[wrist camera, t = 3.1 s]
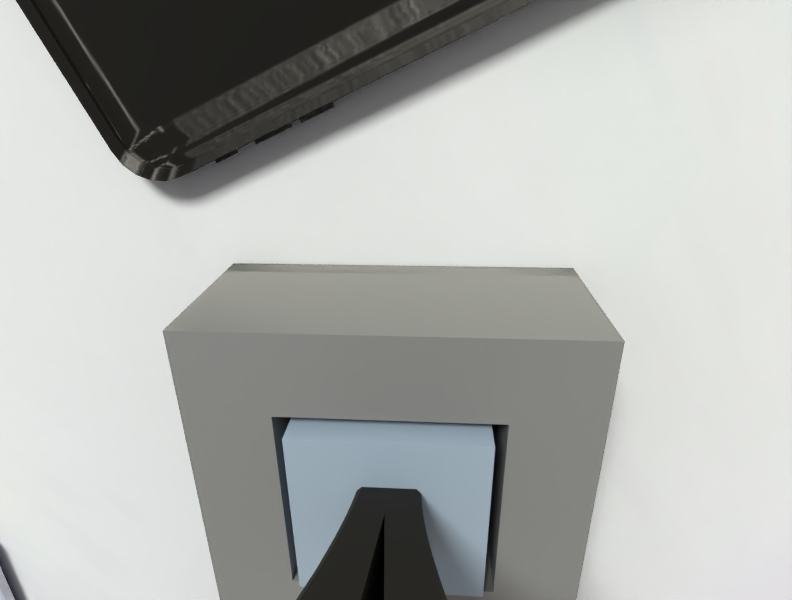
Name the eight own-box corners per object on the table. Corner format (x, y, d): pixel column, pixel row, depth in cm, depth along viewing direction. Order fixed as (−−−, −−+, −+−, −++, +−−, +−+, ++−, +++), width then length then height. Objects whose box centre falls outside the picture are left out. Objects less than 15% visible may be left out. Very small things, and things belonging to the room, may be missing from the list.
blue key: (324, 494, 15) (299, 586, 13) (312, 365, 14) (281, 439, 11) (474, 501, 15) (483, 597, 12) (482, 370, 13) (495, 447, 11)
